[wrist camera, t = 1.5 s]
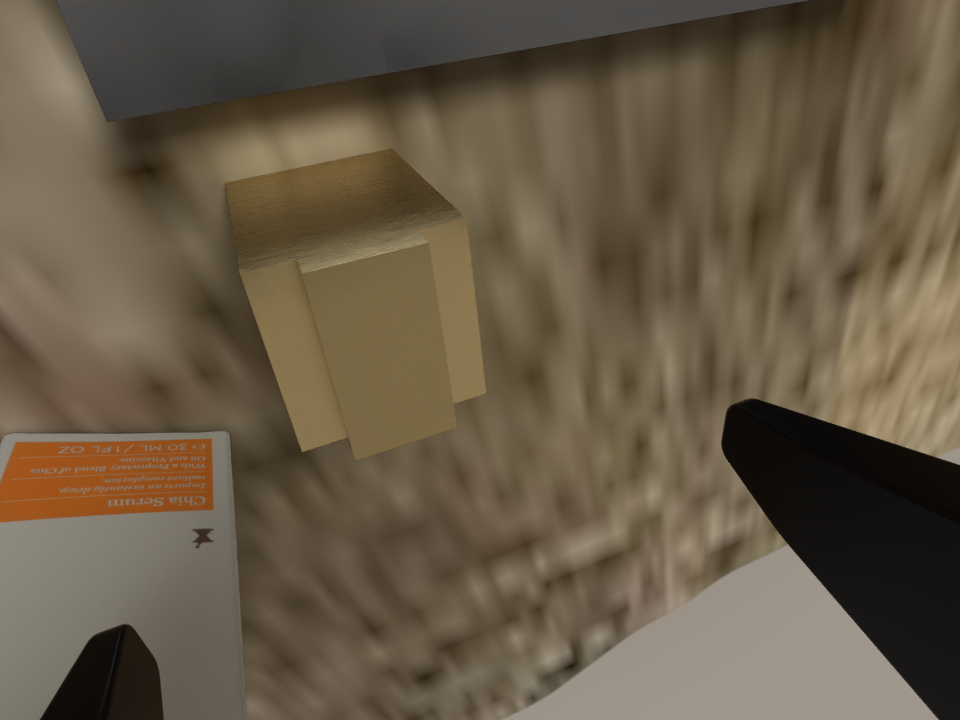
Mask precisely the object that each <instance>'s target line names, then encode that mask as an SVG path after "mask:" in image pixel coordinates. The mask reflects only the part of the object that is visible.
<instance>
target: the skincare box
mask: <svg viewBox="0 0 960 720" xmlns="http://www.w3.org/2000/svg"><path fill="white" fill-rule="evenodd" d="M121 624H129V625H131V626H132V627H133V628H134V629H135V630H136V632H137V633H138V635H139V636H140V637H141V639H142V640H143V642H144V643H145V644H146V646H147V647H148V649H149V650H150V651H151V653H152V654H153V656H154V657H155V659H156V662H157V664H158V668H159V673H160V681H161V692H162V703H163V714H164V720H247V707H246V691H245V674H244V658H243V642H242V626H241V610H240V593H239V576H238V561H237V543H236V528H235V510H234V493H233V480H232V464H231V447H230V435H229V433H228V432H226V431H215V432H200V433H133V434H47V433H11V434H7V435H5V436H4V437H3V439H2V441H1V444H0V720H40V718H41V716H42V715H43V713H44V712H45V710H46V708H47V707H48V705H49V703H50V702H51V700H52V699H53V697H54V695H55V694H56V692H57V690H58V689H59V687H60V686H61V684H62V682H63V681H64V679H65V677H66V676H67V674H68V673H69V671H70V669H71V668H72V666H73V664H74V663H75V661H76V659H77V658H78V656H79V655H80V653H81V651H82V650H83V648H84V646H85V645H86V643H87V642H88V640H89V639H90V638H91V637H92V636H94V635H95V634H97V633H99V632H102V631H105V630H107V629H110V628H113V627H116V626H119V625H121Z"/></svg>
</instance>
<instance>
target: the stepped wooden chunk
mask: <svg viewBox="0 0 960 720" xmlns="http://www.w3.org/2000/svg"><path fill="white" fill-rule="evenodd" d="M225 185H226V191H227V198H228V204H229V210H230V216H231V223H232V229H233V235H234V241H235V248H236V254H237V260H238V266H239V273H240V276H241V279H242V282H243V284H244V287H245V290H246V293H247V296H248V299H249V302H250V305H251V307H252V310H253V313H254V316H255V319H256V322H257V325H258V327H259V330H260V333H261V336H262V339H263V342H264V345H265V347H266V350H267V353H268V356H269V359H270V362H271V365H272V367H273V370H274V373H275V376H276V379H277V382H278V385H279V388H280V390H281V393H282V396H283V399H284V402H285V405H286V408H287V410H288V413H289V416H290V419H291V422H292V425H293V428H294V430H295V433H296V436H297V439H298V442H299V445H300V448H301V451H302V452H304V451H307V450H310V449H313V448H316V447H320V446H323V445H326V444H329V443H332V442H335V441H338V440H342V439H345V438H348V440H349V443H350V446H351V449H352V452H353V456H354V459H355V461H357V460H360V459H363V458H366V457H369V456H372V455H375V454H378V453H381V452H384V451H387V450H390V449H393V448H396V447H399V446H402V445H405V444H409V443H412V442H415V441H418V440H421V439H424V438H427V437H430V436H433V435H436V434H439V433H442V432H445V431H448V430H451V429H454V428H457V422H456V416H455V409H454V403H458V402H461V401H464V400H467V399H470V398H473V397H476V396H480V395H483V394H486V386H485V377H484V368H483V359H482V351H481V342H480V333H479V324H478V316H477V307H476V298H475V289H474V281H473V272H472V263H471V254H470V245H469V237H468V228H467V219H466V218H465V217H464V216H463V215H462V214H461V213H460V212H459V211H458V210H457V209H456V208H455V207H454V206H453V205H451V204H450V203H449V202H448V201H447V200H446V199H445V198H444V197H443V196H442V195H441V194H440V193H439V192H438V191H436V190H435V189H434V188H433V187H432V186H431V185H430V184H429V183H428V182H427V181H426V180H425V179H424V178H423V177H422V176H420V175H419V174H418V173H417V172H416V171H415V170H414V169H413V168H412V167H411V166H410V165H409V164H408V163H407V162H406V161H404V160H403V159H402V158H401V157H400V156H399V155H398V154H397V153H396V152H395V151H394V150H393V149H388V150H383V151H378V152H373V153H368V154H363V155H358V156H353V157H349V158H344V159H339V160H334V161H329V162H324V163H319V164H314V165H309V166H305V167H300V168H295V169H290V170H285V171H280V172H275V173H270V174H266V175H261V176H256V177H251V178H246V179H241V180H236V181H231V182H226V183H225Z"/></svg>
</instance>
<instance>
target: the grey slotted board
mask: <svg viewBox="0 0 960 720" xmlns="http://www.w3.org/2000/svg"><path fill="white" fill-rule="evenodd" d="M802 1H807V0H56V2H57V4H58V7H59V9H60V11H61V14H62V16H63V18H64V21H65V23H66V26H67V28H68V30H69V33H70V35H71V38H72V40H73V42H74V45H75V47H76V49H77V52H78V54H79V57H80V59H81V61H82V64H83V66H84V68H85V71H86V73H87V76H88V78H89V80H90V83H91V85H92V88H93V90H94V92H95V95H96V97H97V99H98V102H99V104H100V107H101V109H102V111H103V114H104V116H105V119H106V121H107V122H110V121H116V120H121V119H127V118H133V117H139V116H144V115H150V114H156V113H162V112H167V111H173V110H179V109H185V108H191V107H196V106H202V105H208V104H214V103H219V102H225V101H231V100H237V99H242V98H248V97H254V96H260V95H265V94H271V93H277V92H283V91H289V90H294V89H300V88H306V87H312V86H317V85H323V84H329V83H335V82H340V81H346V80H352V79H358V78H363V77H369V76H375V75H381V74H387V73H392V72H398V71H404V70H410V69H415V68H421V67H427V66H433V65H438V64H444V63H450V62H456V61H461V60H467V59H473V58H479V57H485V56H490V55H496V54H502V53H508V52H513V51H519V50H525V49H531V48H536V47H542V46H548V45H554V44H559V43H565V42H571V41H577V40H583V39H588V38H594V37H600V36H606V35H611V34H617V33H623V32H629V31H634V30H640V29H646V28H652V27H658V26H663V25H669V24H675V23H681V22H686V21H692V20H698V19H704V18H709V17H715V16H721V15H727V14H732V13H738V12H744V11H750V10H756V9H761V8H767V7H773V6H779V5H784V4H790V3H796V2H802Z"/></svg>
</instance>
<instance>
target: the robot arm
mask: <svg viewBox="0 0 960 720" xmlns="http://www.w3.org/2000/svg"><path fill="white" fill-rule="evenodd" d="M721 445H722V450H723V453H724V455H725V457H726V459H727V460H728V462H729V463H730V465H731V466H732V467H733V469H734V470H735V472H736V473H737V475H738V476H739V477H740V479H741V480H742V482H743V483H744V485H745V486H746V487H747V489H748V490H749V492H750V493H751V495H752V496H753V497H754V499H755V500H756V502H757V503H758V505H759V506H760V507H761V509H762V510H763V512H764V513H765V515H766V516H767V517H768V519H769V520H770V522H771V523H772V524H773V526H774V527H775V528H776V530H777V531H778V532H779V534H780V535H781V536H782V537H783V539H784V540H785V541H786V542H787V543H788V545H789V546H790V547H791V548H792V549H793V551H794V552H795V553H796V554H797V555H798V556H799V557H800V559H801V560H802V561H803V562H804V563H805V564H806V566H807V567H808V568H809V569H810V570H811V572H812V573H813V574H814V575H815V576H816V577H817V579H818V580H819V581H820V582H821V583H822V584H823V586H824V587H825V588H826V589H827V590H828V591H829V593H830V594H831V595H832V596H833V597H834V598H835V599H836V601H837V602H838V603H839V604H840V605H841V606H842V608H843V609H844V610H845V611H846V612H847V613H848V615H849V616H850V617H851V618H852V619H853V620H854V622H855V623H856V624H857V625H858V626H859V627H860V629H861V630H862V631H863V632H864V633H865V634H866V635H867V637H868V638H869V639H870V640H871V641H872V643H873V644H874V645H875V646H876V647H877V648H878V650H879V651H880V652H881V653H882V654H883V655H884V656H885V658H886V659H887V660H888V661H889V662H890V664H891V665H892V666H893V667H894V668H895V669H896V671H897V672H898V673H899V674H900V675H901V676H902V678H903V679H904V680H905V681H906V682H907V683H908V684H909V686H910V687H911V688H912V689H913V690H914V692H915V693H916V694H917V695H918V696H919V697H920V698H921V700H922V701H923V702H924V703H925V704H926V705H927V707H928V708H929V709H930V710H931V711H932V712H933V714H934V715H935V716H936V717H937V718H938V719H939V720H960V465H958V464H955V463H952V462H949V461H945V460H942V459H939V458H936V457H933V456H930V455H927V454H924V453H921V452H918V451H915V450H912V449H909V448H906V447H903V446H899V445H896V444H893V443H890V442H887V441H884V440H881V439H878V438H875V437H872V436H869V435H866V434H863V433H860V432H856V431H853V430H850V429H847V428H844V427H841V426H838V425H835V424H832V423H829V422H826V421H823V420H820V419H817V418H813V417H810V416H807V415H804V414H801V413H798V412H795V411H792V410H789V409H786V408H783V407H780V406H777V405H774V404H770V403H767V402H764V401H761V400H758V399H746V400H744V401H741V402H738V403H735V404H733V405H731V406H730V407H729V408H728V409H727V412H726V417H725V423H724V429H723V435H722V441H721ZM40 720H164V714H163V703H162V692H161V681H160V673H159V668H158V664H157V662H156V659H155V657H154V656H153V654H152V653H151V651H150V650H149V649H148V647H147V646H146V644H145V643H144V642H143V640H142V639H141V637H140V636H139V635H138V633H137V632H136V630H135V629H134V628H133V627H132V626H131V625H129V624H121V625H119V626H116V627H113V628H110V629H107V630H105V631H102V632H99V633H97V634H95V635H94V636H92V637H91V638H90V639H89V640H88V642H87V643H86V645H85V646H84V648H83V650H82V651H81V653H80V655H79V656H78V658H77V659H76V661H75V663H74V664H73V666H72V668H71V669H70V671H69V673H68V674H67V676H66V677H65V679H64V681H63V682H62V684H61V686H60V687H59V689H58V690H57V692H56V694H55V695H54V697H53V699H52V700H51V702H50V703H49V705H48V707H47V708H46V710H45V712H44V713H43V715H42V716H41V718H40Z"/></svg>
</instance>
